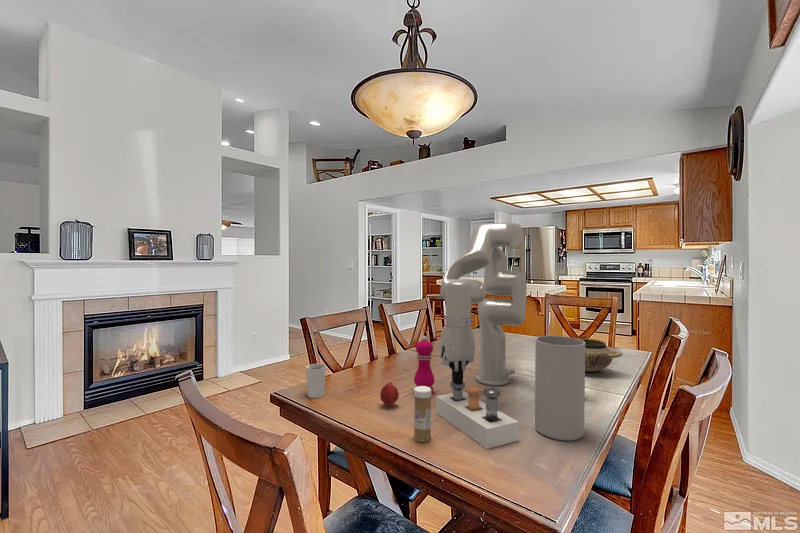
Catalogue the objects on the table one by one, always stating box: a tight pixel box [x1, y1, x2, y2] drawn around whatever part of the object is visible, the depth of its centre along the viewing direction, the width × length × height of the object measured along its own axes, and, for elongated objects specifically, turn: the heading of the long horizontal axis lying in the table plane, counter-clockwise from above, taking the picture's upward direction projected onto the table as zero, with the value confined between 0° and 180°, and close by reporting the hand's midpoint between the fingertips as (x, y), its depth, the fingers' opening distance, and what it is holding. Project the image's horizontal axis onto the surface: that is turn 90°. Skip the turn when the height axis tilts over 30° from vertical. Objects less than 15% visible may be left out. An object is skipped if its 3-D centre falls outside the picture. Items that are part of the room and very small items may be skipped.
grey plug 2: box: [482, 387, 502, 423], centre depth 102 cm, size 4×4×8 cm
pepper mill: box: [413, 335, 436, 395], centre depth 135 cm, size 7×7×20 cm
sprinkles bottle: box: [413, 386, 432, 443], centre depth 101 cm, size 5×5×13 cm
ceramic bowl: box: [579, 338, 623, 376], centre depth 159 cm, size 24×18×15 cm
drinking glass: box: [305, 363, 327, 399], centre depth 133 cm, size 7×7×10 cm
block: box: [435, 390, 519, 450], centre depth 109 cm, size 10×25×5 cm, turn 25°
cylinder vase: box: [534, 335, 586, 442], centre depth 106 cm, size 12×12×25 cm
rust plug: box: [465, 385, 483, 412], centre depth 109 cm, size 4×4×8 cm
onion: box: [380, 380, 400, 407], centre depth 123 cm, size 6×6×8 cm
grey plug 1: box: [450, 380, 466, 402], centre depth 117 cm, size 4×4×8 cm
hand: (457, 382), depth 116 cm, fingers closed
